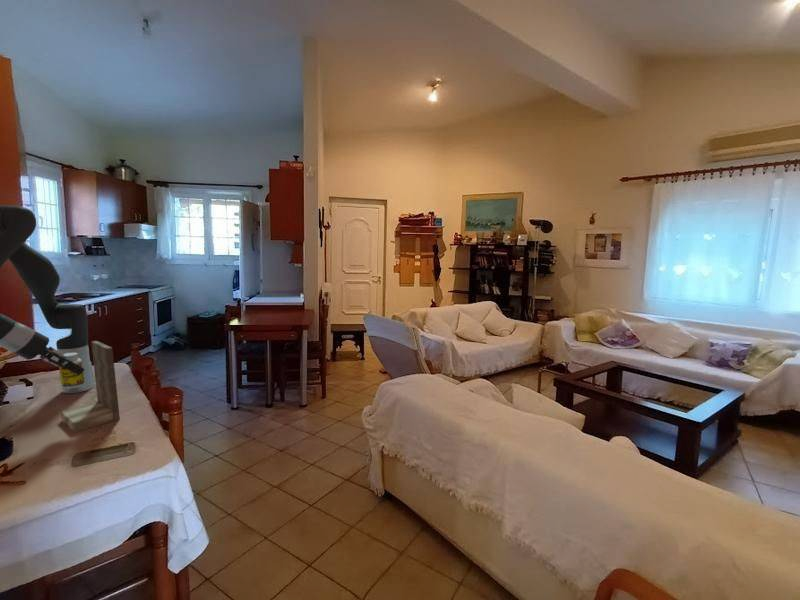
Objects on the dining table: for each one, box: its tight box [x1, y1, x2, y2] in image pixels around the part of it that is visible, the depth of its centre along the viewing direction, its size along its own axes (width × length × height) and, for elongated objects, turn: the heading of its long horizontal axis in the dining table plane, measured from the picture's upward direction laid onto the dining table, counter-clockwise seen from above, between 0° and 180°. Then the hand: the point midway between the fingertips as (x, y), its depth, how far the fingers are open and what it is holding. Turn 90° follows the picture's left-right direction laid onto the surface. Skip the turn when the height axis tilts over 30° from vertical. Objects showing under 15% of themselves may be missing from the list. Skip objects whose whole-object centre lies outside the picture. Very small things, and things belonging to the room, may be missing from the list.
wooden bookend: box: [60, 340, 121, 433], centre depth 127 cm, size 14×12×24 cm
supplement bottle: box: [58, 353, 84, 388], centre depth 124 cm, size 6×6×10 cm
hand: (78, 369), depth 125 cm, fingers closed on supplement bottle, 5 cm apart
